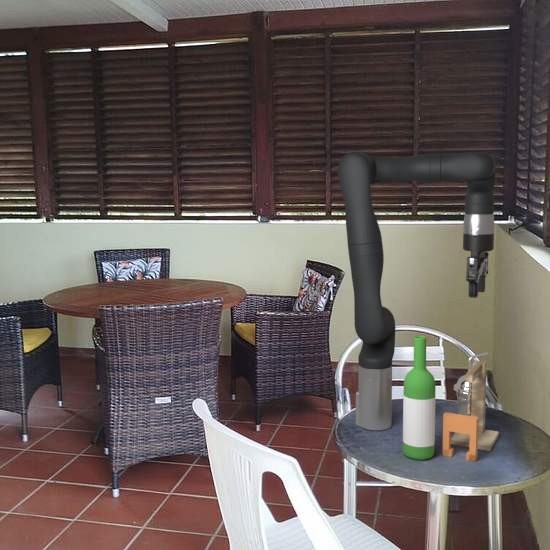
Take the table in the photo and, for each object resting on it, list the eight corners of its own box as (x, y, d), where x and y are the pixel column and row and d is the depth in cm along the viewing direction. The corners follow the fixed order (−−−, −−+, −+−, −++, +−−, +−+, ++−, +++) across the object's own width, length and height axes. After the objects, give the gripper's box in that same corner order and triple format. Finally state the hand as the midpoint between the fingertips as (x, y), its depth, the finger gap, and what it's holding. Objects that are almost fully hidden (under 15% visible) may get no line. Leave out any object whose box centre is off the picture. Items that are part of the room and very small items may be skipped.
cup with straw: (452, 416, 191) (454, 348, 188) (485, 419, 189) (487, 350, 186) (452, 427, 183) (454, 356, 180) (486, 429, 181) (489, 358, 178)
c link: (442, 455, 165) (443, 414, 163) (444, 452, 166) (445, 412, 165) (475, 461, 161) (476, 419, 159) (477, 458, 163) (478, 417, 161)
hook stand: (447, 448, 169) (448, 371, 166) (460, 429, 181) (462, 358, 178) (487, 455, 164) (490, 377, 161) (498, 435, 176) (500, 362, 174)
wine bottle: (396, 451, 167) (397, 335, 163) (421, 446, 170) (423, 332, 166) (414, 463, 160) (416, 342, 156) (441, 457, 163) (443, 338, 159)
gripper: (470, 229, 177) (468, 289, 179) (456, 233, 164) (455, 298, 167) (499, 230, 173) (497, 291, 176) (488, 234, 161) (486, 300, 163)
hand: (476, 294), depth 171 cm, fingers open, 8 cm apart
